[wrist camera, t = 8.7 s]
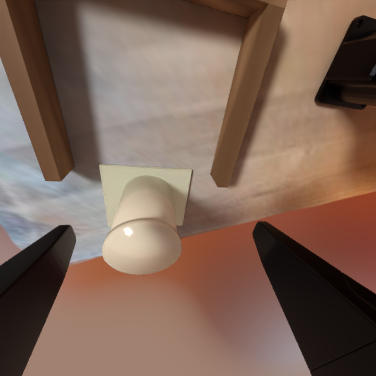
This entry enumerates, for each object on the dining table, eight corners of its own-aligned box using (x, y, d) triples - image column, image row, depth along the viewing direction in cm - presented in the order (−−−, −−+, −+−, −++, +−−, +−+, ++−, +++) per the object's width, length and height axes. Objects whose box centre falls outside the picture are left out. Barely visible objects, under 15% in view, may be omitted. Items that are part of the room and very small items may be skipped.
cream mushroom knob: (118, 172, 18) (96, 225, 11) (176, 175, 19) (186, 224, 13) (123, 229, 23) (110, 291, 16) (170, 228, 24) (175, 285, 17)
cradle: (266, 0, 13) (293, -20, 10) (219, 174, 21) (228, 187, 18) (-11, -85, 9) (-74, -147, 7) (61, 166, 17) (45, 180, 15)
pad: (191, 169, 20) (191, 170, 19) (182, 224, 24) (182, 225, 24) (99, 164, 18) (99, 165, 17) (109, 225, 22) (108, 226, 22)
